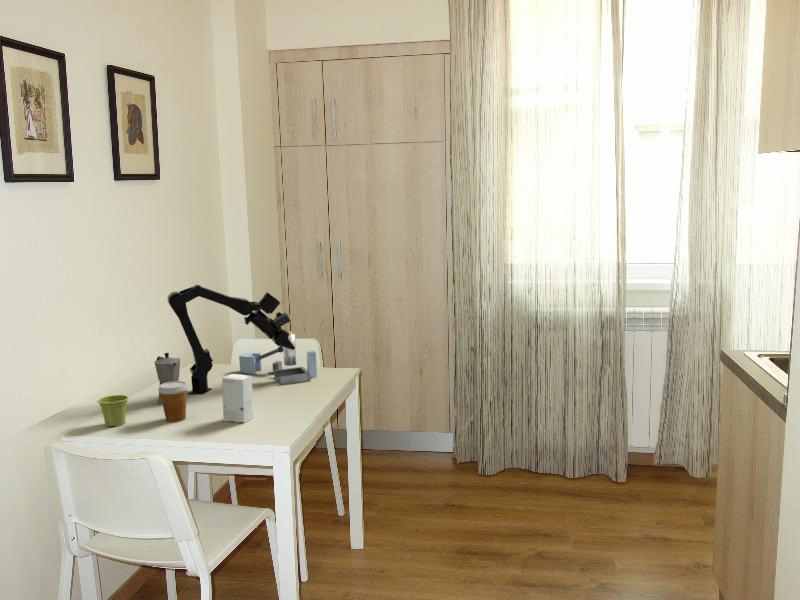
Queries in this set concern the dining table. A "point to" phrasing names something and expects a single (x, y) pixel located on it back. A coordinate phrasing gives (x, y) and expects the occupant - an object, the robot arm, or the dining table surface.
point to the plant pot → (114, 409)
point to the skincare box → (237, 398)
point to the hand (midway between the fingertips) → (292, 347)
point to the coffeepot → (167, 370)
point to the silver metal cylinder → (290, 352)
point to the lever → (270, 353)
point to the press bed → (298, 371)
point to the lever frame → (254, 363)
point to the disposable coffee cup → (174, 400)
